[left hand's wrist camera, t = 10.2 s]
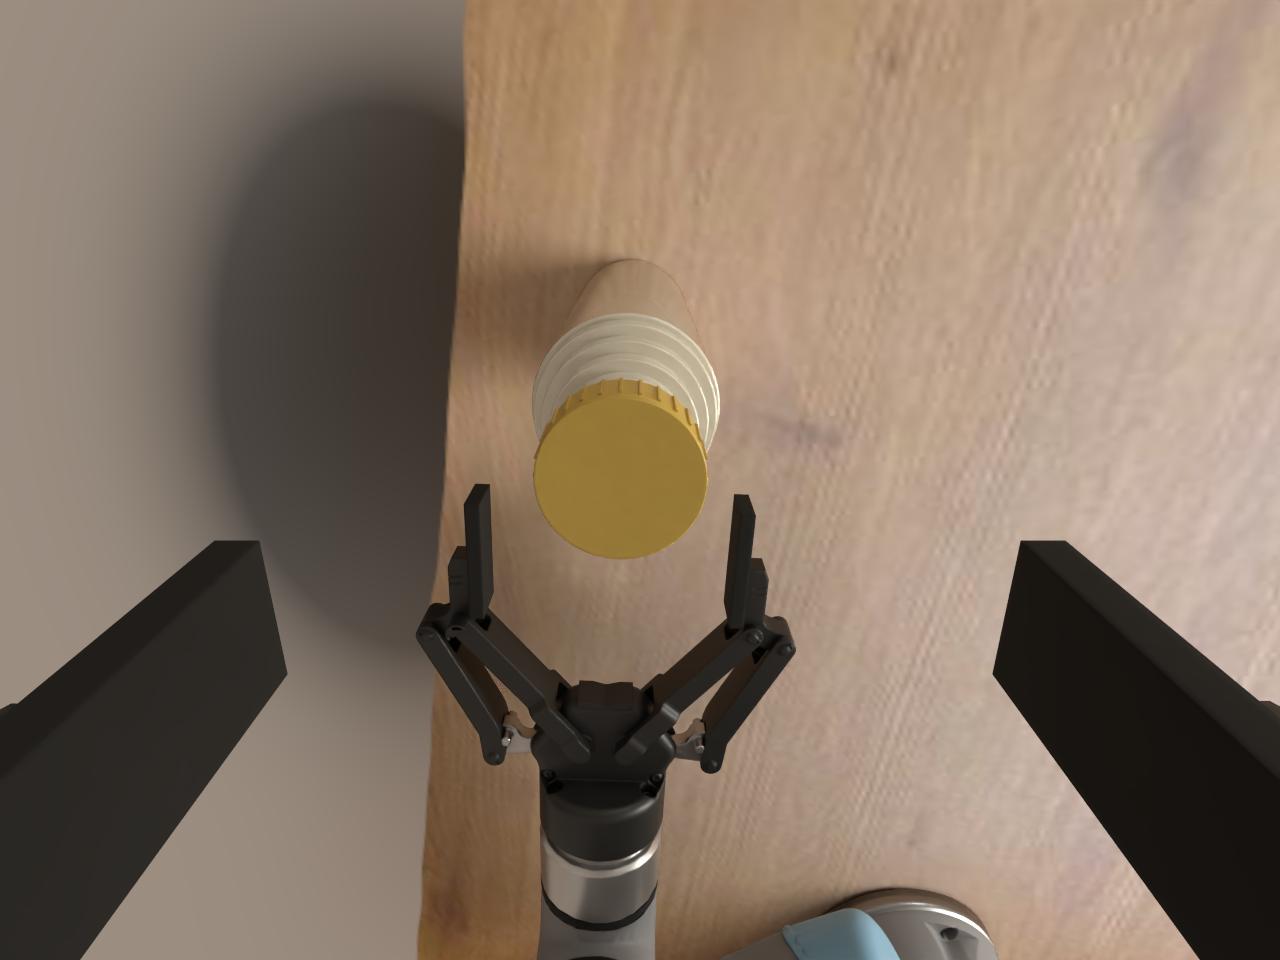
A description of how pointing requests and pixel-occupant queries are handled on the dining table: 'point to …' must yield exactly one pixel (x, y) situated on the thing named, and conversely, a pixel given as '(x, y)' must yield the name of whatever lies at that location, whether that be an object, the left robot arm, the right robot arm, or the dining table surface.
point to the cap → (621, 469)
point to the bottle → (630, 345)
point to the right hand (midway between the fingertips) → (611, 498)
